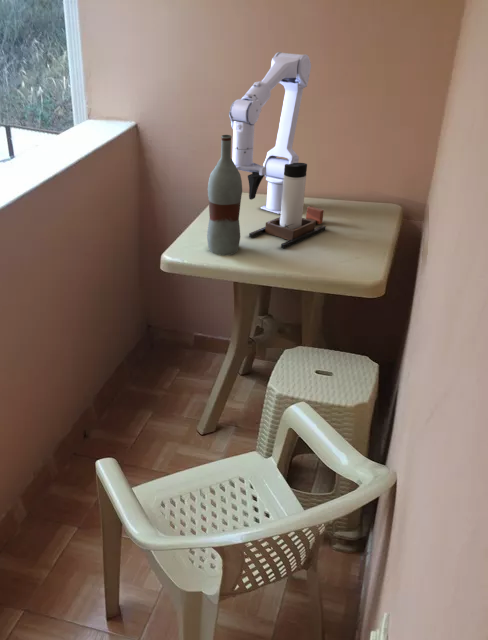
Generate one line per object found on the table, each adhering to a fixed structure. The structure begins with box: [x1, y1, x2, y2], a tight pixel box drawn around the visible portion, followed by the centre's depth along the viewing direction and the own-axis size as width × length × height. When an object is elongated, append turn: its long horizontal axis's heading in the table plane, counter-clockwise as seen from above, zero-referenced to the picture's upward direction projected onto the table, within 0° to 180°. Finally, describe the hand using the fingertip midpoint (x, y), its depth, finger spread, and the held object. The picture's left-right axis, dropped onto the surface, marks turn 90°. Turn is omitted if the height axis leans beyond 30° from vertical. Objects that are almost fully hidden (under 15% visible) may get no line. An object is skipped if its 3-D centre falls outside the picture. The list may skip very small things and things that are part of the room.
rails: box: [248, 225, 327, 249], centre depth 191 cm, size 20×13×1 cm, turn 136°
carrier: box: [264, 205, 325, 241], centre depth 193 cm, size 18×10×4 cm, turn 136°
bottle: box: [206, 134, 243, 256], centre depth 173 cm, size 9×9×30 cm
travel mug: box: [279, 162, 308, 230], centre depth 186 cm, size 6×7×20 cm
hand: (241, 196), depth 189 cm, fingers open, 7 cm apart
